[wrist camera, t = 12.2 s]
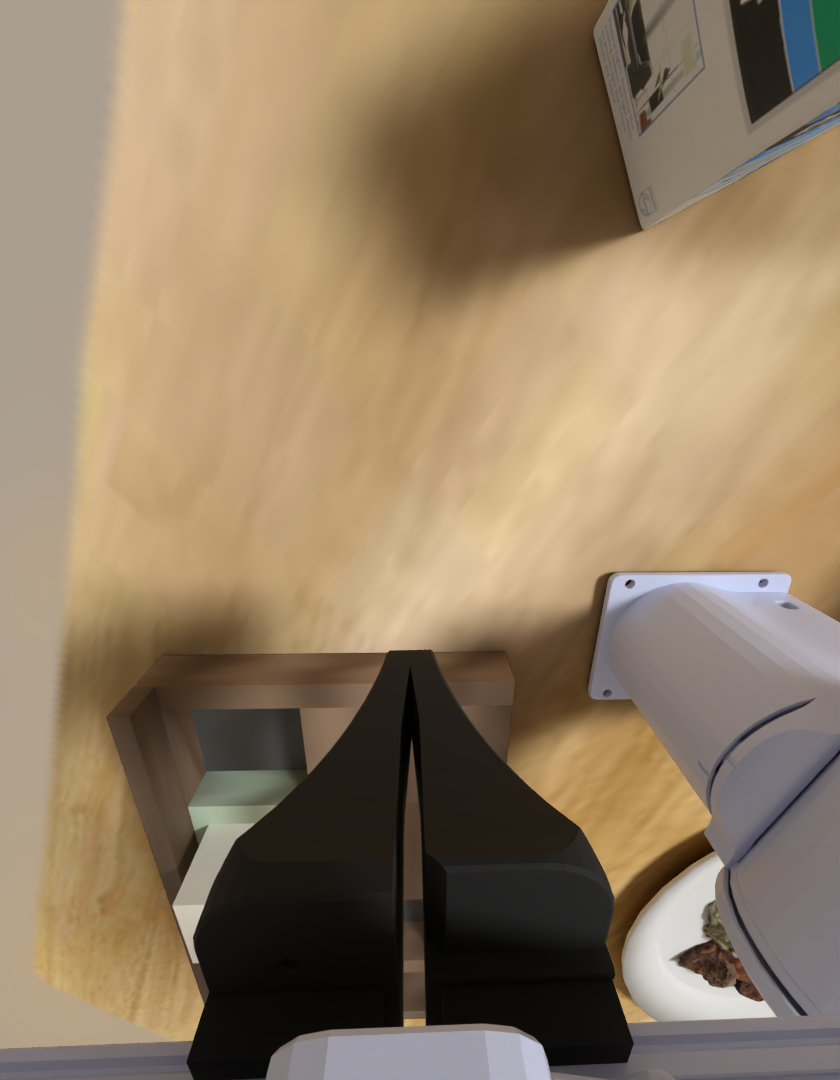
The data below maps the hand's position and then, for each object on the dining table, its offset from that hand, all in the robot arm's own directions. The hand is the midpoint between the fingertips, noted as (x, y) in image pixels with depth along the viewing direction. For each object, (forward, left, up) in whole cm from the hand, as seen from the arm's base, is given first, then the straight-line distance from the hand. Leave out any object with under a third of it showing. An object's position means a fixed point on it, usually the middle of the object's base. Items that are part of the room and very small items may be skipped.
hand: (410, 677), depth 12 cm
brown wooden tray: (+4, +19, -9) cm, 22 cm away
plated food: (-31, +32, -10) cm, 46 cm away
